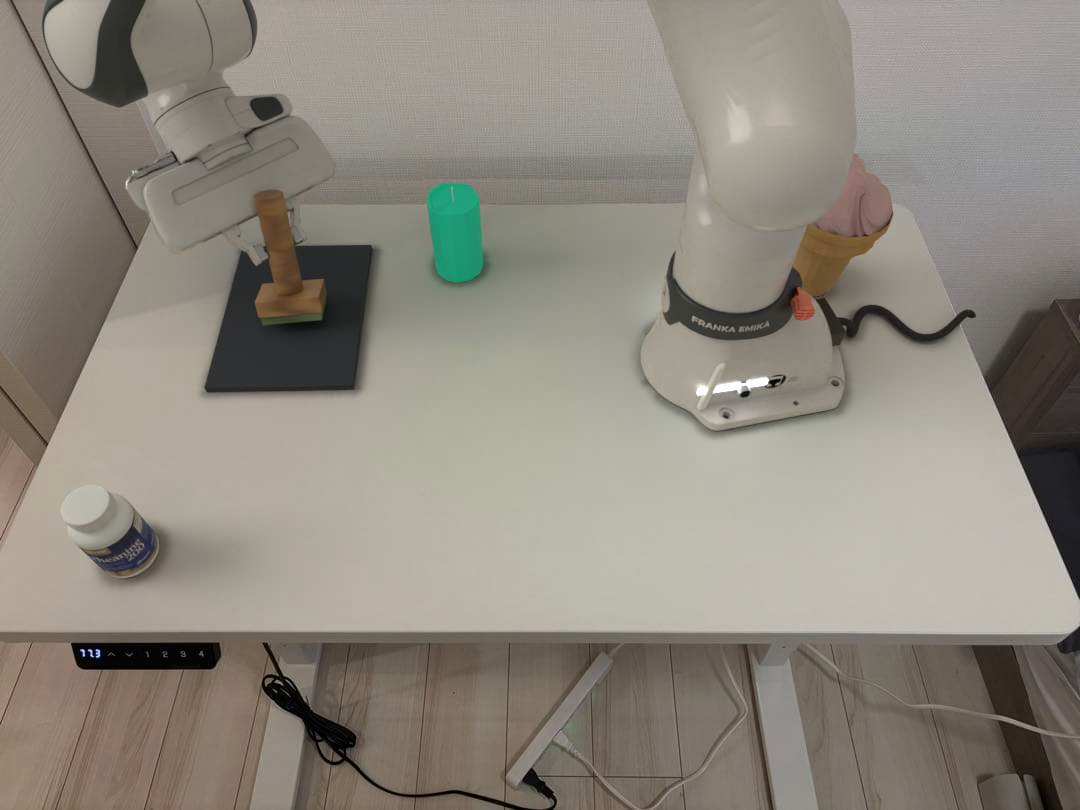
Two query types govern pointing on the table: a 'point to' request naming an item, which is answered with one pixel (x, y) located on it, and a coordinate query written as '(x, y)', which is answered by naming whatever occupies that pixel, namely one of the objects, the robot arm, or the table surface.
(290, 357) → the mat
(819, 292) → the ice cream cone
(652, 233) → the table surface
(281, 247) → the wooden stamp
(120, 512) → the pill bottle
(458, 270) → the candle
